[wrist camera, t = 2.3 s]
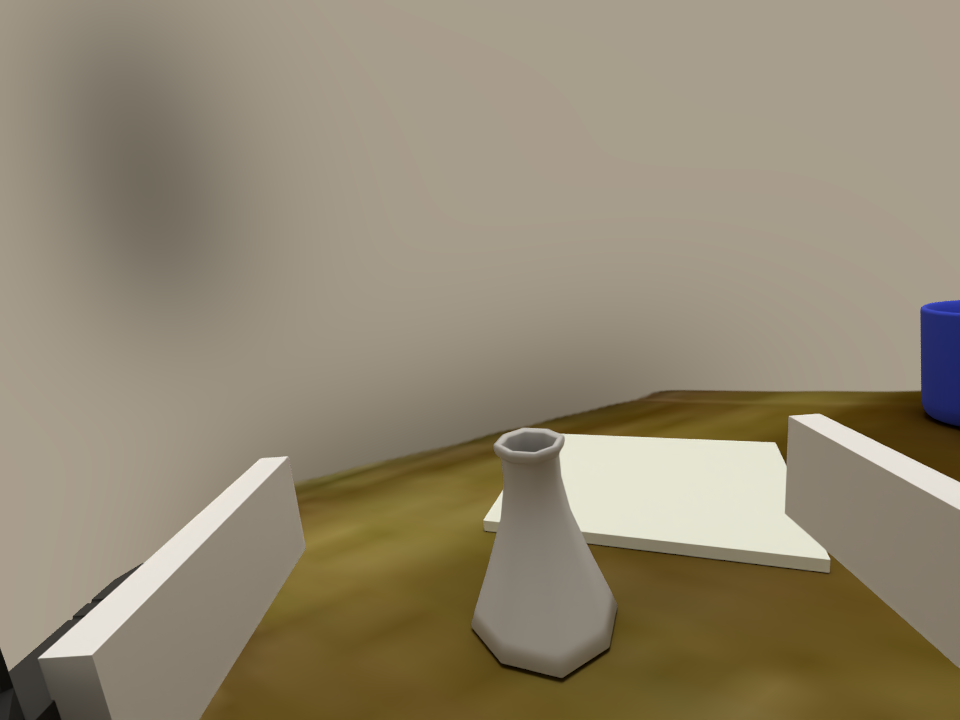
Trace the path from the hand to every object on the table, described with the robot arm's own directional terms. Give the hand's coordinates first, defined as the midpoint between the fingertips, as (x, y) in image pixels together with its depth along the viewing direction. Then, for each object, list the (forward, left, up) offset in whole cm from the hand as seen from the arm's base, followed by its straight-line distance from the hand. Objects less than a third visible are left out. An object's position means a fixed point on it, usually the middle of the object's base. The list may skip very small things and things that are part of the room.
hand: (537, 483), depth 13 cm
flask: (+3, -9, -13) cm, 16 cm away
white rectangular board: (-1, -24, -13) cm, 28 cm away
